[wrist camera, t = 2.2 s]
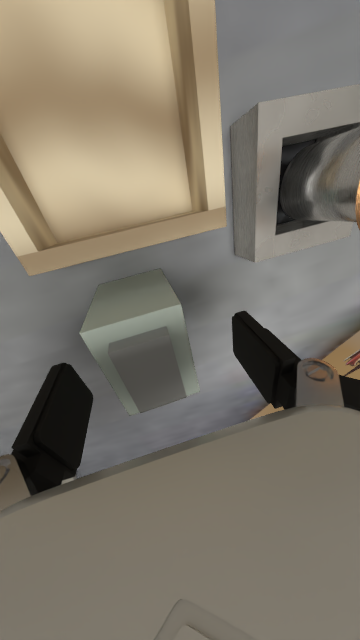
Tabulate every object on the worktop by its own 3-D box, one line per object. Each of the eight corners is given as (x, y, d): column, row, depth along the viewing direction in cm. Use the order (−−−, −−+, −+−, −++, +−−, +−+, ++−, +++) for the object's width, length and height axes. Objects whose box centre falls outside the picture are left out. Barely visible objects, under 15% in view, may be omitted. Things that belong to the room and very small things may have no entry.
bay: (203, 223, 14) (226, 226, 11) (54, 259, 13) (29, 275, 10) (167, -96, 8) (197, -331, 4) (-131, -78, 7) (-398, -378, 3)
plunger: (333, 222, 14) (467, 228, 8) (266, 240, 13) (362, 259, 8) (357, 117, 11) (586, 22, 5) (272, 134, 10) (433, 47, 5)
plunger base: (316, 232, 17) (349, 236, 14) (234, 254, 16) (254, 262, 13) (340, 105, 13) (393, 77, 10) (230, 126, 12) (258, 102, 9)
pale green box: (160, 268, 15) (185, 310, 9) (177, 335, 19) (203, 401, 12) (98, 284, 15) (75, 343, 8) (128, 350, 18) (129, 427, 12)
